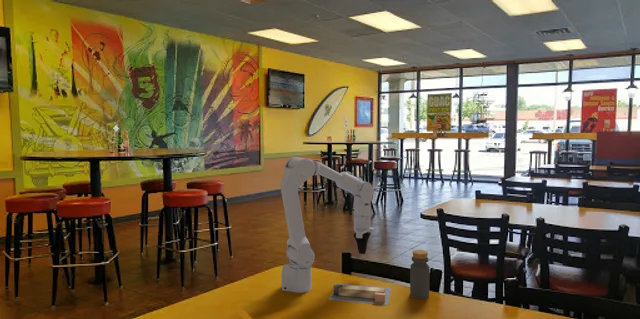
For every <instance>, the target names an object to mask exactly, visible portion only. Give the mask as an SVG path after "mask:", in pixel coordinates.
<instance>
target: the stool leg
mask: <svg viewBox="0 0 640 319" xmlns="http://www.w3.org/2000/svg"><path fill="white" fill-rule="evenodd" d="M340 284H341V283H336V284H333V288H332V289H333V290H332V293H333V294H334V295H340V296H351V297H362V298H373V299H375V292H378V293H385V288H376V287H377V286H374V287H364V286H365V285H362V286H352V285H353V284H350V285H340Z"/></svg>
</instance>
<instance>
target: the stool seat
mask: <svg viewBox="0 0 640 319" xmlns="http://www.w3.org/2000/svg"><path fill="white" fill-rule="evenodd" d="M339 284H340V285H352V286H364V287H376V288H385V303H381V302H375V299H373V298H362V297H351V296H340V295H334V294H333V292H331V294H330V296H329V298H328V301H337V302H338V301H339V302H348V303H356V304H357V303H359V304H368V305H369V304H370V305H381V306H388V305H389V301H390V297H391V294H392V293H391V292H392V287H384V286H373V285H372V286H370V285H359V284H350V283H349V284H347V283H339Z"/></svg>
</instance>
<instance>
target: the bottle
mask: <svg viewBox="0 0 640 319" xmlns="http://www.w3.org/2000/svg"><path fill="white" fill-rule="evenodd" d="M428 254H429V252H428V251H427V250H423V249H415V250H412V255H411V261H412V263H411V264H410V271H409V272H410V273H409V275H410V276H409V280H410V281H409V282H410V283H409V286H410V287H409V293H410V294H409V295H410V296H411V298H414V299H419V300H423V299H428V298H429V297H430V276H431V275H430V272H431V271H430V265H429V264H428V262H429V257H428Z"/></svg>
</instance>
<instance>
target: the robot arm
mask: <svg viewBox="0 0 640 319" xmlns="http://www.w3.org/2000/svg"><path fill="white" fill-rule="evenodd" d="M283 167H284V170H283V174H282V177H281V180H280V184H279V185H280V187H279V188H280V192H281V197H282V198H281V199H282V204H283V209H284V215H285V221H286V222H285V223H286V226H287V233H288V239H287V240H286V250H285V254H286V255H285V256H286V257H287V259H289V261H288V262H289V263H287V264H286V263H285V264H284V265H283V266H282V269H281V274H280V275H281V291H286V292H293V293H297V294H298V293H299V294H300V293H302V294H303V293H307V292H310V291H311V290H312V265H313V264H314V261H315V257H316V255H315V252H314V250H313V249H312V248H311V247H312V246H311V243H310V242H309V240H308V238H307V236H306V230H305V223H304V219H303V213H302V207H301V200H300V195H299V188H300V187H301V186H302V185H303V184H304V183H305V182H306V181H308V180H309V179H310V178H312V177H313V176H318V175H320V176H322V177H324V178H326V179H327V180H331V181H334V182H335V185H336V187H337V188H340V189H341V190H343V191H346V192H347V193H350V194H351V195H353V212H354V213H353V231H354V233H353V238H354V240H355V242H356V246H357V251H358V254H359V255H360V254H361V255H365V254H366V253H367V252H366V251H367V247H368V242H369V239H370V236H371V234H372V233H371V231H374V230H375V227H373V226H371V221H372V220H371V215H372V214H371V210H372V208H371V206H372V203H371V202H372V198H373V195H374V193H375V189H374V187H373V185H372V183H371V182H369V181H365V180H363V178H362V177H359V176H358V177H356V176H355V175H353V174H352V172H350V171H349V170H348V171H342V172H338V171H337V170H334V169H332V168H331V167H329V166H327V165H325V164H324V163H323V162H320V161H317V160H312V159H311V158H309V157H308V158H307V157H305V158H303V157H300V156H293V157H291V158H289V159H288V161H287V162H286V163H285V164H284V165H283Z"/></svg>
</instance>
